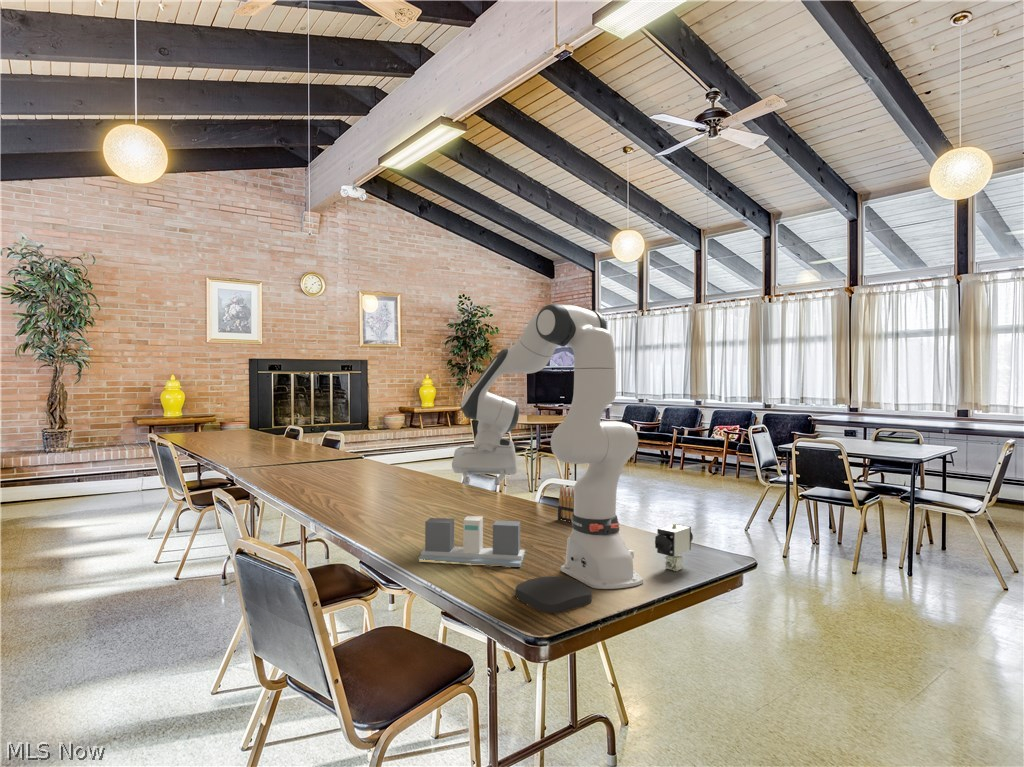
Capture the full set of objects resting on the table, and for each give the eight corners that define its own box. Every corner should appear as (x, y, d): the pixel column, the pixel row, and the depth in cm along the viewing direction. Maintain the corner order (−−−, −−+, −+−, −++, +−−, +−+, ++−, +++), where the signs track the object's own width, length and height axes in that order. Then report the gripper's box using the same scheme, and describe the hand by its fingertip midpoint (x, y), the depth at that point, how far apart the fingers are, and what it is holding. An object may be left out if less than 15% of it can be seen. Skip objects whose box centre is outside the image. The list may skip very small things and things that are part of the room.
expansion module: (479, 553, 152) (479, 520, 152) (463, 553, 152) (463, 520, 152) (482, 548, 157) (482, 516, 157) (467, 547, 158) (467, 515, 158)
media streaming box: (548, 618, 116) (548, 603, 116) (508, 596, 128) (508, 583, 128) (599, 602, 125) (599, 589, 125) (557, 583, 137) (557, 571, 137)
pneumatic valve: (693, 566, 150) (693, 521, 150) (670, 576, 142) (670, 529, 142) (674, 561, 154) (675, 518, 154) (651, 570, 146) (651, 525, 146)
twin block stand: (520, 567, 147) (520, 529, 147) (417, 562, 151) (418, 525, 151) (525, 554, 159) (525, 518, 159) (430, 549, 163) (430, 514, 163)
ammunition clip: (557, 519, 200) (557, 486, 200) (560, 518, 202) (561, 485, 202) (581, 525, 193) (581, 490, 193) (584, 524, 194) (584, 489, 194)
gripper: (454, 440, 176) (446, 476, 166) (518, 441, 173) (513, 478, 164) (457, 452, 181) (449, 488, 171) (519, 454, 178) (515, 490, 168)
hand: (481, 483), depth 167 cm, fingers open, 8 cm apart
